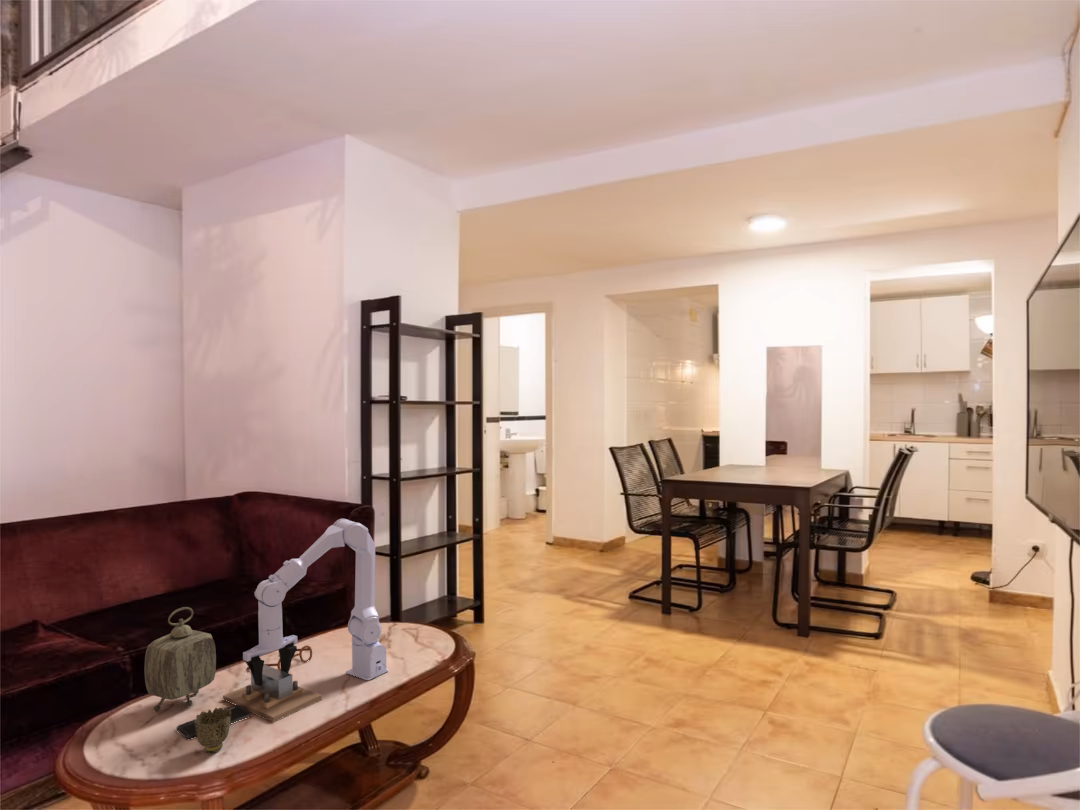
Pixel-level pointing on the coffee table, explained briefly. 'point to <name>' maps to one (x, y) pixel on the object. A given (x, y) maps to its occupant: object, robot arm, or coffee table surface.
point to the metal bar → (274, 683)
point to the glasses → (294, 656)
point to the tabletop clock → (179, 662)
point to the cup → (212, 728)
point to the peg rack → (272, 701)
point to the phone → (189, 728)
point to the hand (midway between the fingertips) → (271, 679)
